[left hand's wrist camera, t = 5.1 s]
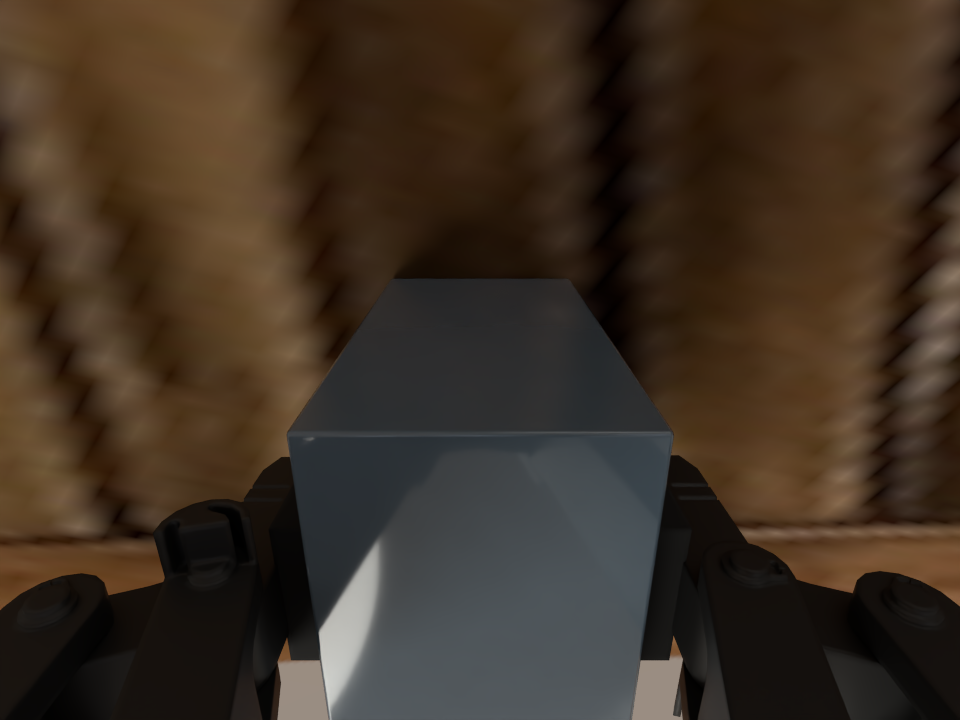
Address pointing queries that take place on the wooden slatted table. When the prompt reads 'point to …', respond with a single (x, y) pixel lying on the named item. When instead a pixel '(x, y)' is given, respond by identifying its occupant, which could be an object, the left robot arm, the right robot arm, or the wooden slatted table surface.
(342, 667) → the brick
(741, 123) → the wooden slatted table surface
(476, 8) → the wooden slatted table surface
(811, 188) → the wooden slatted table surface
